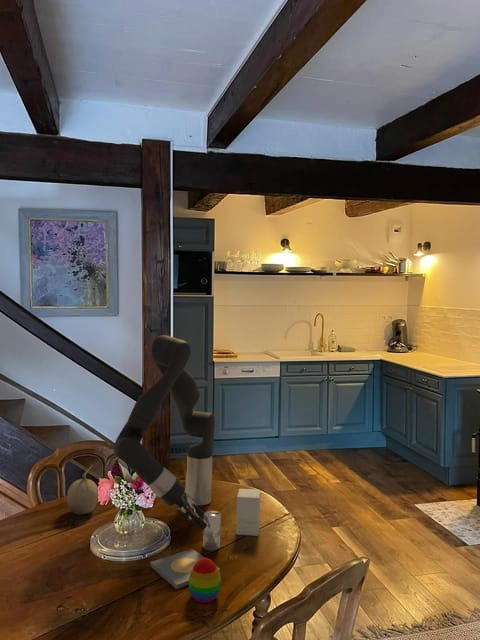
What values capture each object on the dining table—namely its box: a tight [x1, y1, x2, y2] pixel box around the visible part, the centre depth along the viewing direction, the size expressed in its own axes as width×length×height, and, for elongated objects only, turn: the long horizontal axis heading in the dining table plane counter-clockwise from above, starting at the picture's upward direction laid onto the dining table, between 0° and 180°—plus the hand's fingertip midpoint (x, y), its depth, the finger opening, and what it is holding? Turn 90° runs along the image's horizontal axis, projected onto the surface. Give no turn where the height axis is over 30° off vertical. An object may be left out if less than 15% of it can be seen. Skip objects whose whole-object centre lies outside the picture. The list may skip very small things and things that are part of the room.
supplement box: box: [235, 488, 261, 537], centre depth 175 cm, size 7×7×13 cm
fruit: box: [66, 464, 99, 515], centre depth 184 cm, size 10×12×15 cm
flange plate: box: [150, 548, 221, 590], centre depth 150 cm, size 14×14×1 cm
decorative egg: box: [188, 557, 222, 604], centre depth 137 cm, size 8×8×10 cm
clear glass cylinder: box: [202, 510, 222, 551], centre depth 164 cm, size 5×5×10 cm
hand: (203, 521), depth 163 cm, fingers open, 8 cm apart
